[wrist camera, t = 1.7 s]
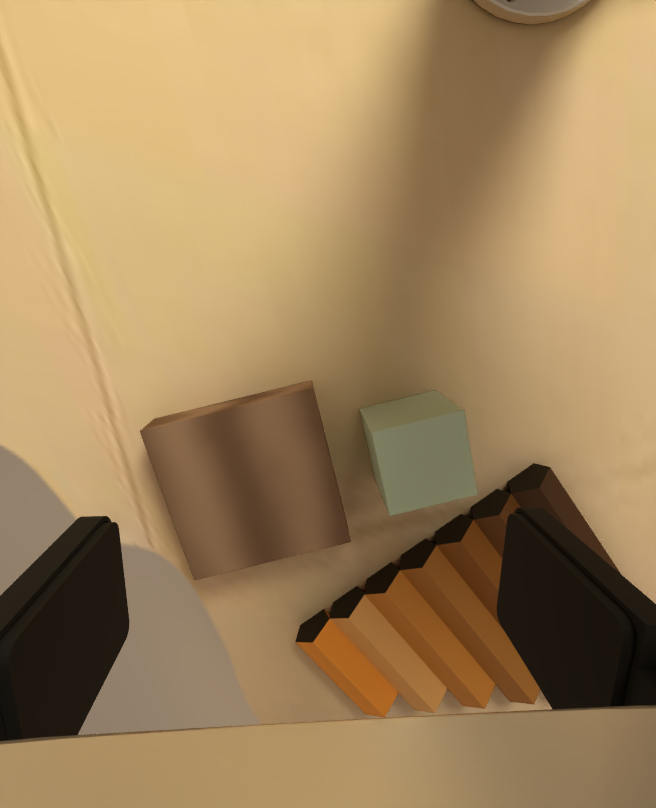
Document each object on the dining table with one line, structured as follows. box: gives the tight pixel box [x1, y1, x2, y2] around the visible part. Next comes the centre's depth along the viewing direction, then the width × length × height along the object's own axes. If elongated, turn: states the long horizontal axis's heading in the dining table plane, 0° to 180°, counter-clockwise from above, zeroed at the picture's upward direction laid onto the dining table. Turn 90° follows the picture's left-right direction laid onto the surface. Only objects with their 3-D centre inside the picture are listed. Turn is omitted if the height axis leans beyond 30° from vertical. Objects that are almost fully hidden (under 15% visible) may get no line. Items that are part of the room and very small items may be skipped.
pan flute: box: [296, 464, 621, 717], centre depth 38 cm, size 25×3×25 cm
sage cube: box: [359, 390, 478, 516], centre depth 31 cm, size 6×6×6 cm
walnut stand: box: [140, 381, 351, 580], centre depth 32 cm, size 12×12×3 cm
